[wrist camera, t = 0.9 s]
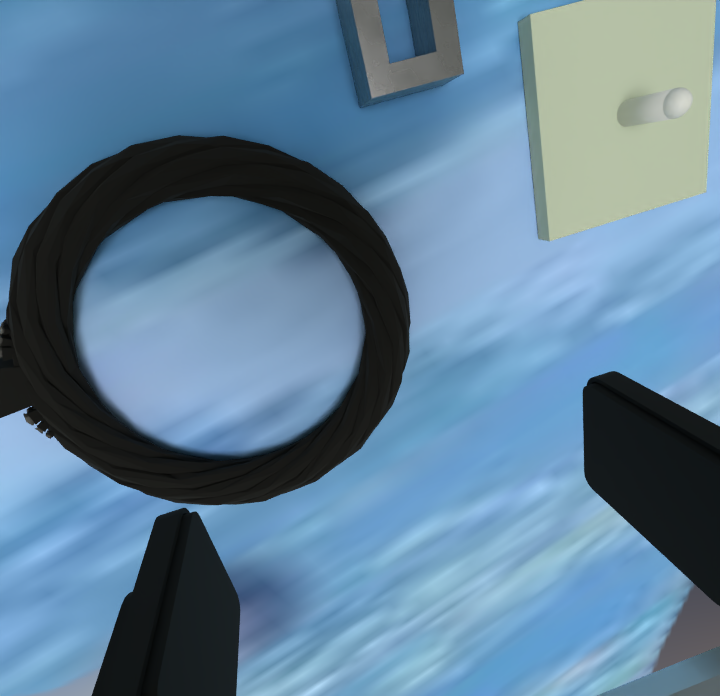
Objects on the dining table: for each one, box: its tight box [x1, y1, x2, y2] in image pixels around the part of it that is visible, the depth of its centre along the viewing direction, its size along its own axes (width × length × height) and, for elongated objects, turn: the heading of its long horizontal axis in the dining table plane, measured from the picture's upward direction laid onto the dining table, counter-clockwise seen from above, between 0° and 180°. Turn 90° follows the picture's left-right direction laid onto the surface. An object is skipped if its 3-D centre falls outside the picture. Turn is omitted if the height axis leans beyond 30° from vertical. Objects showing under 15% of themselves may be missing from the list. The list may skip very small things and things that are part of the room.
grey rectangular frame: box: [336, 0, 464, 108], centre depth 27 cm, size 9×6×4 cm, turn 15°
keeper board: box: [518, 0, 716, 241], centre depth 30 cm, size 15×14×6 cm
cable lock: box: [0, 135, 410, 505], centre depth 32 cm, size 28×4×30 cm
